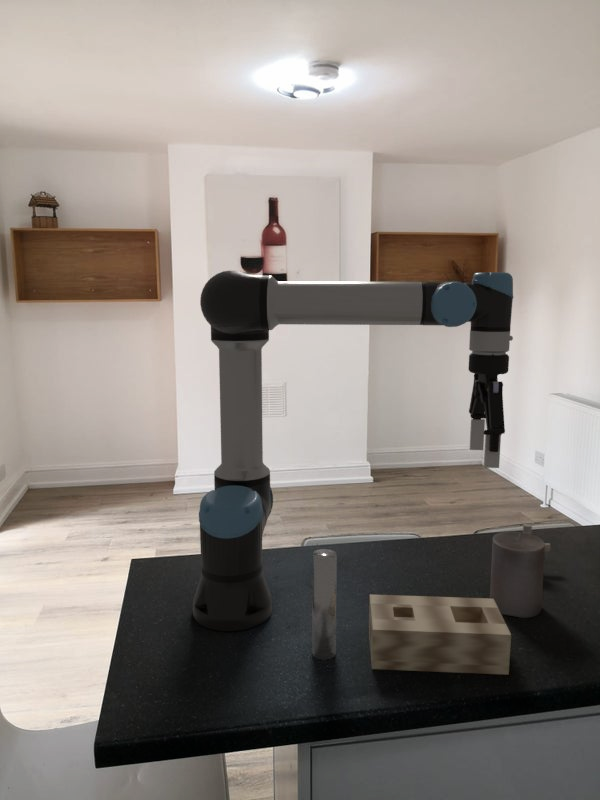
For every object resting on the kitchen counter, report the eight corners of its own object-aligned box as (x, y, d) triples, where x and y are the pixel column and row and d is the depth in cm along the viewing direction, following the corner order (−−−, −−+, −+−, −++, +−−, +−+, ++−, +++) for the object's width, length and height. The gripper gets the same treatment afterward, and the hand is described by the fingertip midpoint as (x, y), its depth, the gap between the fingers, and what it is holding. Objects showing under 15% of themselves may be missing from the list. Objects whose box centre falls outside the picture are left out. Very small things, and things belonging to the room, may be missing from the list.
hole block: (371, 668, 103) (372, 629, 102) (368, 630, 115) (369, 594, 114) (508, 674, 102) (511, 634, 100) (491, 634, 113) (493, 598, 112)
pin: (311, 659, 106) (312, 558, 103) (312, 646, 110) (313, 548, 106) (335, 660, 105) (336, 559, 102) (335, 647, 109) (336, 549, 106)
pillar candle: (518, 591, 130) (521, 522, 127) (552, 613, 121) (557, 539, 118) (479, 599, 127) (481, 529, 124) (511, 623, 118) (515, 547, 115)
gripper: (527, 359, 110) (519, 476, 114) (493, 347, 135) (488, 443, 138) (483, 359, 111) (477, 475, 114) (458, 347, 135) (453, 442, 139)
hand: (483, 458), depth 126 cm, fingers open, 13 cm apart
